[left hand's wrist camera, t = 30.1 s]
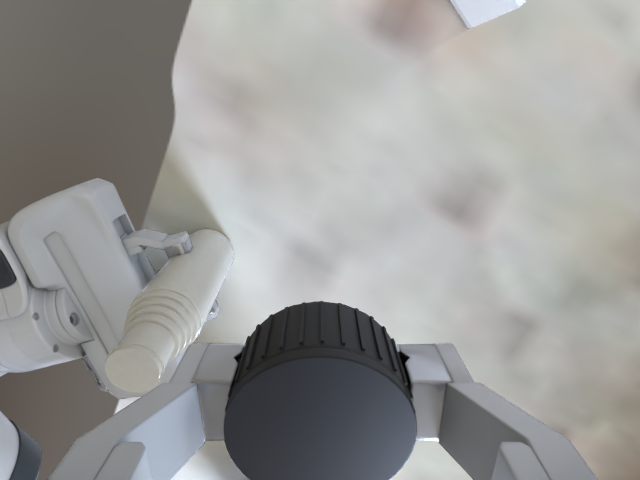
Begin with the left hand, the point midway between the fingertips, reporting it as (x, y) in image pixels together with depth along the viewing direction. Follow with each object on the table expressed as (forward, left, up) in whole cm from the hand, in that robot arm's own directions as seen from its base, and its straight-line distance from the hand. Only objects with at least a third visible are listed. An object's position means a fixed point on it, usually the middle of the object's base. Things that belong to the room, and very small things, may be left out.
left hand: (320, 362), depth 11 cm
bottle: (+12, -5, -27) cm, 30 cm away
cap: (0, 0, +2) cm, 2 cm away
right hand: (+11, -4, -22) cm, 25 cm away
